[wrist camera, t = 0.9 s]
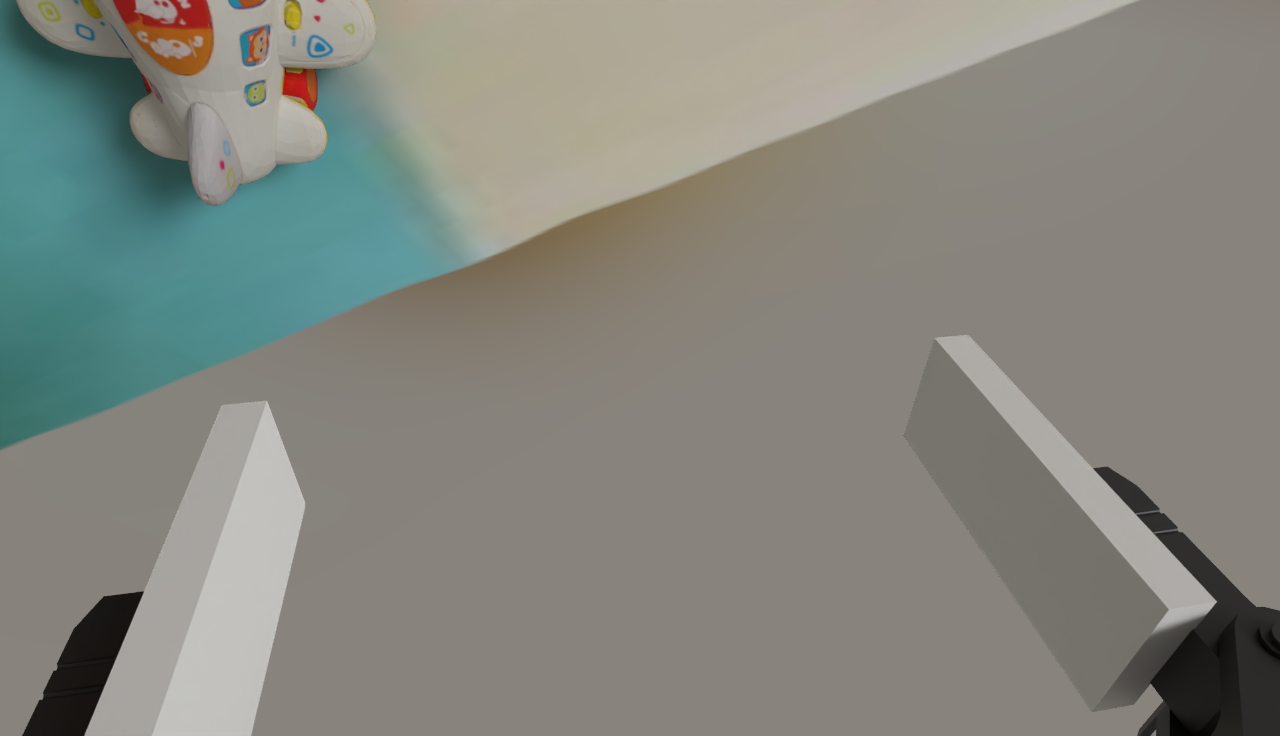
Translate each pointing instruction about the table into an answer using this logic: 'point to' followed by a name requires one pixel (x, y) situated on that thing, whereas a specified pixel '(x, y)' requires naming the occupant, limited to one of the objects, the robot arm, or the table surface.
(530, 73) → the table surface
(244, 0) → the toy airplane
